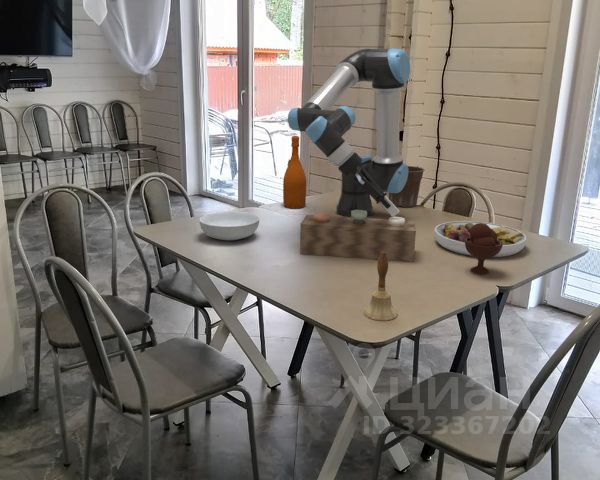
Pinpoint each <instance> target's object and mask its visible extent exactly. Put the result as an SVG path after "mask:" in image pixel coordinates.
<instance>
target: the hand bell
mask: <svg viewBox="0 0 600 480" xmlns="http://www.w3.org/2000/svg"><path fill="white" fill-rule="evenodd" d="M376 267H377V273H378V285H377V288H378V289H377V290H374V291H373V292H372V294H371V298H370V302H369V305H368V306H367V307H366V308H364V310H363V314H364V315H363V316H364V317H366V318H368V319H371V320H373V321H379V322H380V321H383V322H384V321H391V320H394V319H396V318H397V317H398V312H397V309H395V308H394V307H393V304H392V299H391V293H390V292H389V291H387V290H386V276H387V274H388V269H389V260H388V259H387V255H386V252H381V254H380V256H379V259H377V265H376Z"/></svg>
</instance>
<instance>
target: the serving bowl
mask: <svg viewBox="0 0 600 480" xmlns="http://www.w3.org/2000/svg"><path fill="white" fill-rule="evenodd" d="M198 221H199V226H200V229H201V230H202V232H203V233H204V234H205V235H206V236H208V237H210V238H213V239H216V240H220V241H227V242H229V241H237V240H242V239H244V238H247V237H249V236H251V235H253V234H254V233H255V232H256V231H257V230H258V227H259V225H260V217H259V215H257V214H256V213H253V212H252V213H251V212H246V211H232V210H231V211H230V210H229V211H219V212H218V211H217V212H212V213H207V214H205V215H202V216H201V217H200V218H199V220H198Z"/></svg>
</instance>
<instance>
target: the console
mask: <svg viewBox="0 0 600 480" xmlns="http://www.w3.org/2000/svg"><path fill="white" fill-rule="evenodd" d="M416 229H417V227H416V221H415V220H406V219H405V224H404V226H402V227H393V226H390V225H389V218H388V219H384V218H371V217H370V218H369V217H367V219H364V224H354V219H353V218H351V217H350V216H337V215H336V216H334V215H330V220H329V221H328V222H316V221H314V214H306V215H304V218H303V219H302V221H301V223H300V231H299V232H300V233H299V234H300V237H299V239H300V241H299V242H300V243H299V244H300V246H299V252H300V253H299V254H300V255H312V256H313V255H315V256H326V257H327V256H329V257H338V258H339V257H340V258H341V257H343V258H355V259H356V258H357V259H371V260H372V259H373V260H378V259H379V256H380V254H381V252H386V255H387V259H388V261H395V262H396V261H398V262H399V261H400V262H412V263H413V262H414V261H415V260H414V259H415V247H416V246H415V245H416V236H417V230H416Z"/></svg>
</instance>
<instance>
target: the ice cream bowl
mask: <svg viewBox="0 0 600 480" xmlns="http://www.w3.org/2000/svg"><path fill="white" fill-rule="evenodd" d="M469 233H470V237H467V238H465V247H466V250H467V251H468V252H469V253H470V254H471V255H472V256H471V257H473V258H476V259H477V265H475V266H472V267H471V268H470V272H471V273H473V274H475V275H479V276H480V275H481V276H483V275H484V276H486V275H488V274H490V271H489V269H488V268H487V267H486V266H485V265H484V264H485V263H484V262H485V260H489V259H491V258H495V257H494V256H495V255H497V254H498V253H499V252H500V250H501V248H502V246H503V244H502V241H499V240H497V233H496V232H495V231H493V229H491V228H490V227H489V226H488V225H487V224H483V223H478V224H475V225H474V226H472V227H471V229H470V231H469Z"/></svg>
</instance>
